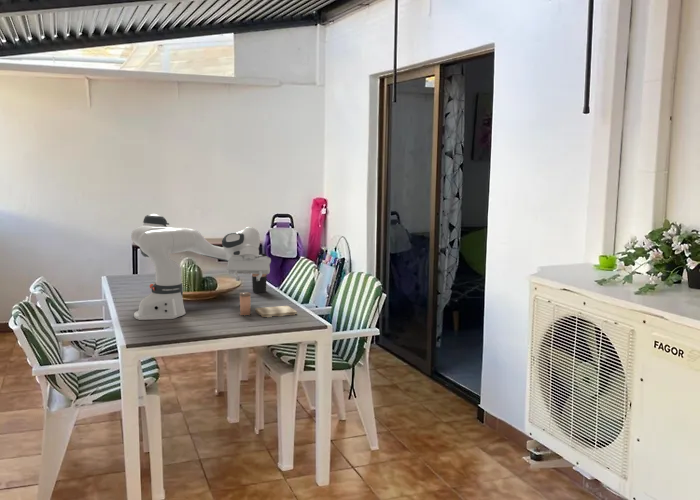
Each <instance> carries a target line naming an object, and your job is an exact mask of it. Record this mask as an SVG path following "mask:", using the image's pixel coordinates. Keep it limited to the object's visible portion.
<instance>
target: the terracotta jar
mask: <svg viewBox="0 0 700 500" xmlns="http://www.w3.org/2000/svg"><path fill="white" fill-rule="evenodd" d="M251 295H252V293H251V292H249V291H242V292H239V315H240V316H241V315H244V316H243V317H246V316H245V315H249V316H251V315H250V314H252V313H251V301H252V300H251V297H252V296H251Z"/></svg>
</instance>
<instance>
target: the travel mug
mask: <svg viewBox="0 0 700 500" xmlns="http://www.w3.org/2000/svg"><path fill="white" fill-rule="evenodd" d="M259 256H263V257H265V256H267V254H266V253H259ZM267 275H268V274H262V276H261V278H260V281H256V276H259V274H251V283H252V285H251V286H252V292H253V294H254V293H256V294H262V293H267Z"/></svg>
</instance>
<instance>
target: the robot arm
mask: <svg viewBox="0 0 700 500" xmlns="http://www.w3.org/2000/svg"><path fill="white" fill-rule="evenodd" d="M142 223H143V224H142V225H140V226H137V227H135V228H134V229H133V230H132V232H131V240H132V242H133V243H134V244H135V245H136V246H137V247H139V251H140V254H141V255H142V257H145V258H146V259H149V260H151V261H152V264H153V266H154V273H155V283H150V284H149V289H150V290H151V292H150V293H149V294H148V295H147V296H145V297H144V298H143V299H141V300H140V302H139V305H138V306H139V307H138V310H137V311H135V312H134V313H133V317H134V319H136V320H138V321H139V320H140V321H145V320H146V321H147V320H172V319H176V318H178V317H181V316H184V315H186V313H187V312H186V309H185V306H184V299H183V293H184V290H183V288H184V287H183V282H182V267H181V265H180V264H179V263H178V262H176V261H174V260H171V257H170V254H177V253H184V252H186V251H187V252H192V253H195V254H197V255H201V256H204V257H208V258H213V259H216V260H221V261H225V262H227V266H226V271H227V273H228V274H229V275H230V274H234V277H235V281H236V282H237V281H238V282H239V281H240V275H239V274H241V275H242V274H243V275H248V274H250V275H252V274H259V276H256V281H260V278H261V276H262V274H267V275H269V274H270V271H271V268H270V266H271V262H272V258H271V257H269V256H267V255H266V256H265V257H263V256H259V254H260V250H259V248H260V242H261V241H260V240H261V239H260V233H259V231H258V230H257V228H255V227H251V226H247V227H244V228H243V229H242V230H239V231H237V232H229V233H227V234H225V235H224V237H222V240H221V245H222V246H218V245H213V244H212V243H210V242H209V241H208V240H207V239H206V238H205V236H203V234H202V233H201V232H199V230H197V229H194V228H189V227H168V226H170V223H169V222H168V221H167V220H166V218H165V217H164V216H162V215H160V214H157V213H150V214H147V215H145V216H144V218H143V221H142ZM167 225H168V226H167Z"/></svg>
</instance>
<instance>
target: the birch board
mask: <svg viewBox="0 0 700 500" xmlns="http://www.w3.org/2000/svg"><path fill="white" fill-rule="evenodd" d="M255 312H256V313H257V314H258V315H259V316H260V315H261V316H260V317H262V318H263V317H267V318H273V317H272V316H278V317H284V316H283V315H290V316H296V315H295V314H297V315H298V311H297V310H296V309H294V308H292V307H291V306H290V305H278V306H277V305H276V306H268V307H267V306H266V307H256V308H255Z"/></svg>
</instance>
